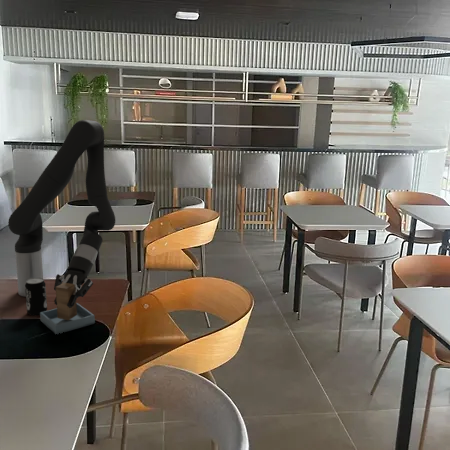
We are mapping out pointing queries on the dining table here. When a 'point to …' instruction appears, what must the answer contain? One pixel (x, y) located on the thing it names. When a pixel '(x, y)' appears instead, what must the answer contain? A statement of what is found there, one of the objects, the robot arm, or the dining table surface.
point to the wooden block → (65, 301)
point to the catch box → (64, 325)
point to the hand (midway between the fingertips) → (63, 305)
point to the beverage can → (35, 296)
